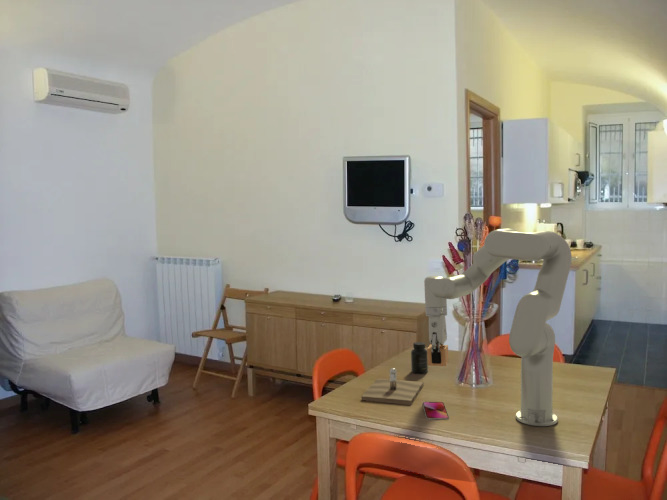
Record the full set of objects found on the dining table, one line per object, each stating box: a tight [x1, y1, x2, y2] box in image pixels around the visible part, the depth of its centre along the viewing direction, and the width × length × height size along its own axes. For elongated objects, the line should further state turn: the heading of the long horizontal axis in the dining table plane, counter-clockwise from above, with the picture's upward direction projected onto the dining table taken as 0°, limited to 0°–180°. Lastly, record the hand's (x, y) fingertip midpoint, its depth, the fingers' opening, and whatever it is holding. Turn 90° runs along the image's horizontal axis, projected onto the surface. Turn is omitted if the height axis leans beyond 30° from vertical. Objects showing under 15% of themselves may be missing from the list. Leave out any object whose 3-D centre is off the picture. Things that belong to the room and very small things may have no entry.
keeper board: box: [360, 378, 424, 406], centre depth 218 cm, size 22×18×2 cm
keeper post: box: [389, 367, 398, 390], centre depth 218 cm, size 3×3×8 cm
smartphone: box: [422, 401, 450, 421], centre depth 198 cm, size 7×1×15 cm
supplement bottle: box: [410, 341, 429, 375], centre depth 243 cm, size 7×7×12 cm
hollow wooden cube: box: [426, 344, 449, 367], centre depth 211 cm, size 6×6×6 cm
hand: (438, 360), depth 211 cm, fingers closed on hollow wooden cube, 6 cm apart
